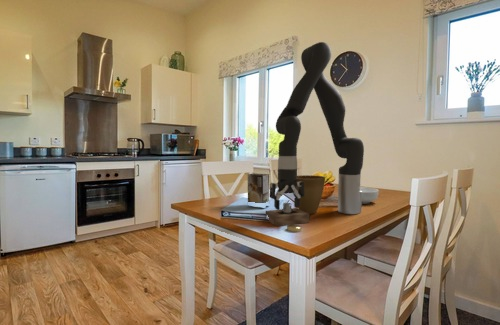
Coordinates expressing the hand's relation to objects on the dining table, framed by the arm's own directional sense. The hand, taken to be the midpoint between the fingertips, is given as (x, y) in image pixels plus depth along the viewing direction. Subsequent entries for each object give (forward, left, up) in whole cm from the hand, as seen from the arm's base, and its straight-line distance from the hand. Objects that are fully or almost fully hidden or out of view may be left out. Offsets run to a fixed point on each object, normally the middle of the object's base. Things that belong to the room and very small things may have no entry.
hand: (287, 208), depth 109 cm
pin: (0, 0, -5) cm, 5 cm away
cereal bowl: (-54, -18, -5) cm, 57 cm away
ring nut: (+3, +11, -5) cm, 13 cm away
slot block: (0, 0, -5) cm, 5 cm away
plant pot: (-16, -10, -5) cm, 20 cm away
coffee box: (+1, -27, -5) cm, 28 cm away
